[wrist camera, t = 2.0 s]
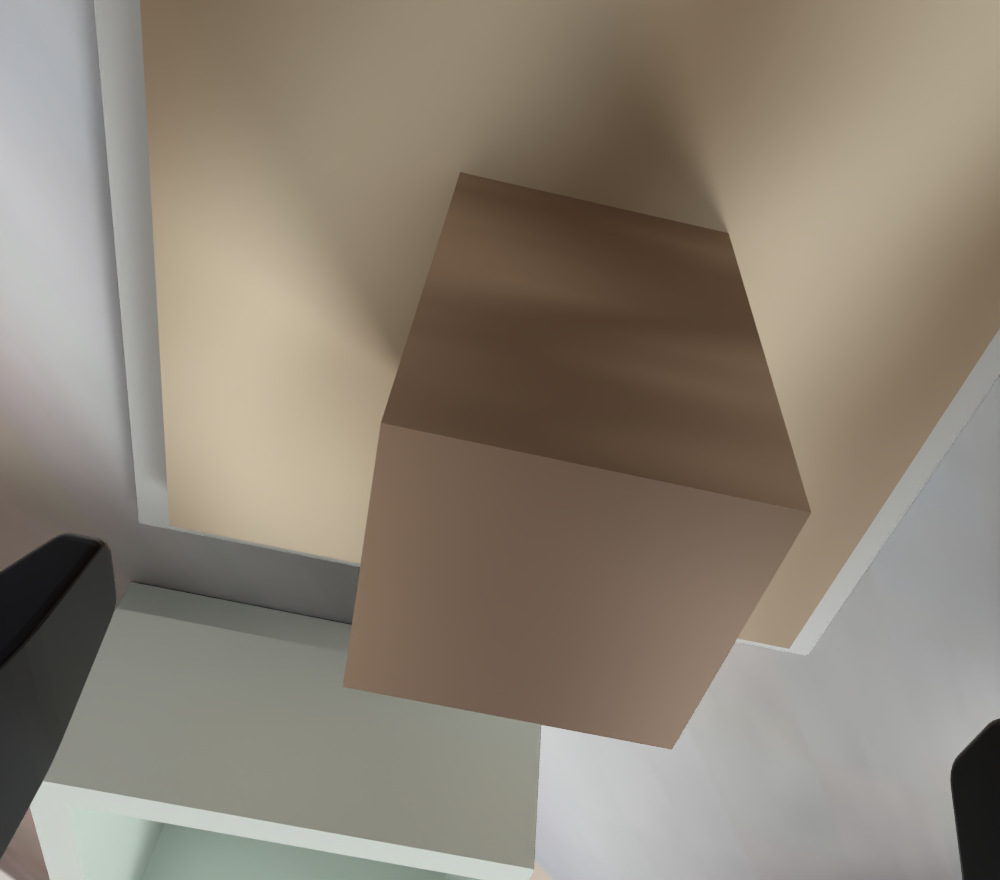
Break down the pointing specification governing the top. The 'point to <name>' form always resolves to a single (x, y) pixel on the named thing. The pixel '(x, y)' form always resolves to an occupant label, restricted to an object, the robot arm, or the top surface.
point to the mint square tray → (273, 761)
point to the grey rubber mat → (141, 333)
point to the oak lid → (566, 315)
